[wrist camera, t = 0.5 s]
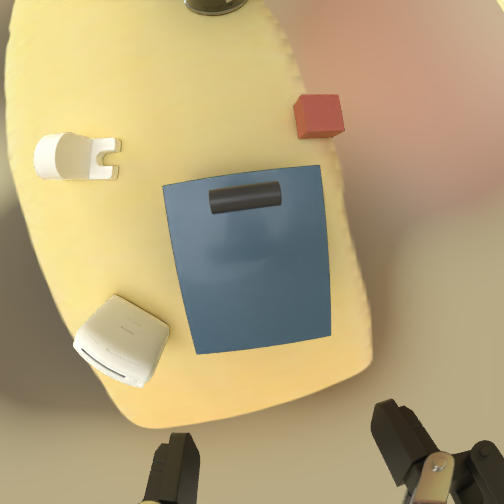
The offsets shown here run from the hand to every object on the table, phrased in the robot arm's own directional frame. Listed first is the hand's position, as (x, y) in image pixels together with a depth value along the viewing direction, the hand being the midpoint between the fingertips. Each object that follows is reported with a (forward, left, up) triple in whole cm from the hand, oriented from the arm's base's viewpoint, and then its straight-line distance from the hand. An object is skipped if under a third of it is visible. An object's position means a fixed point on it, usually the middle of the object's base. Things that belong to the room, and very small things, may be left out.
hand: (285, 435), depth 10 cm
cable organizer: (-18, -20, -27) cm, 38 cm away
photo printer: (+5, -17, -27) cm, 32 cm away
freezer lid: (-3, 0, -16) cm, 17 cm away
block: (-18, +10, -26) cm, 33 cm away
